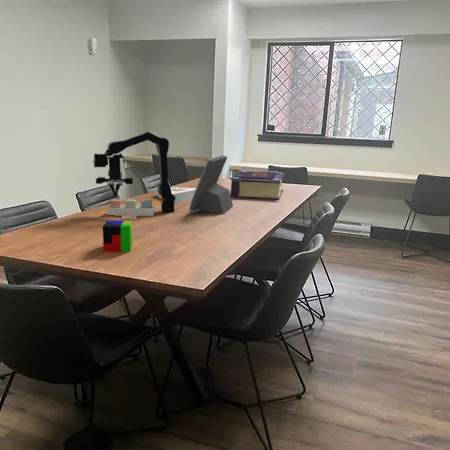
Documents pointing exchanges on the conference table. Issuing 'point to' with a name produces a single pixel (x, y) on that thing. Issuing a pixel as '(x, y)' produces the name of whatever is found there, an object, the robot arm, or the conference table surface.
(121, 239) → the puzzle toy
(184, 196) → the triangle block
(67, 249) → the conference table surface
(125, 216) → the card
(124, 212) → the key console
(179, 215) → the conference table surface
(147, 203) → the slate blue key
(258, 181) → the book
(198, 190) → the touchscreen device
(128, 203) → the sage green key
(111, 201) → the terracotta key
